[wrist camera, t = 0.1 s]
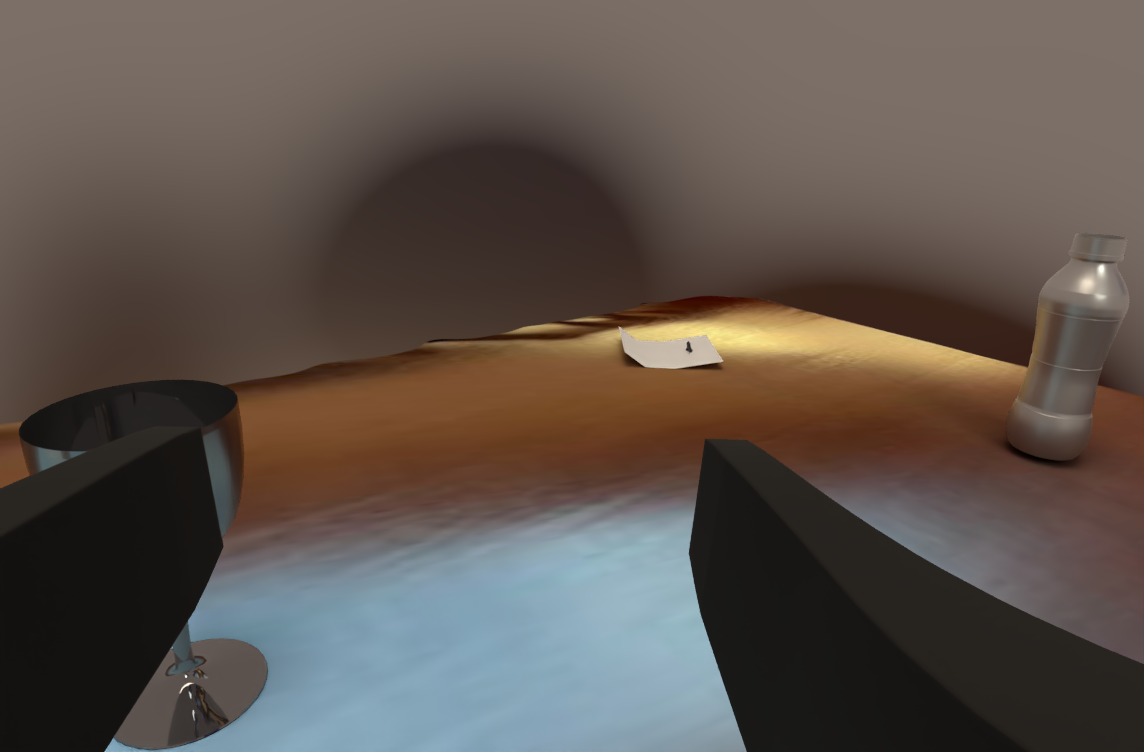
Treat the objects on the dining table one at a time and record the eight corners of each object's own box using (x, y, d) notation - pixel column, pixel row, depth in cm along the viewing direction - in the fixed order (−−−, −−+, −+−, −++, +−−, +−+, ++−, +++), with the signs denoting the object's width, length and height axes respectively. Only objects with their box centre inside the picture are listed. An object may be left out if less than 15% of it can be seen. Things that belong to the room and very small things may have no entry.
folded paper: (722, 370, 84) (724, 354, 83) (623, 367, 84) (624, 352, 83) (705, 342, 95) (706, 328, 95) (617, 339, 95) (618, 325, 95)
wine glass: (288, 626, 39) (255, 376, 34) (258, 742, 31) (211, 444, 26) (132, 643, 37) (73, 383, 32) (62, 770, 30) (-29, 458, 25)
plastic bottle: (1017, 465, 61) (1078, 239, 55) (988, 434, 67) (1041, 229, 61) (1097, 473, 60) (1170, 244, 53) (1060, 441, 66) (1122, 233, 60)
